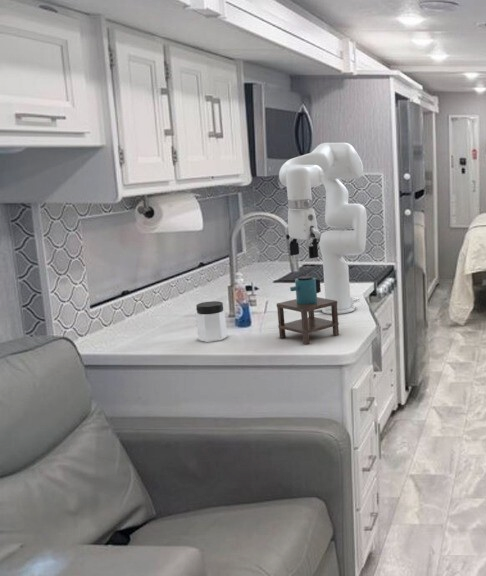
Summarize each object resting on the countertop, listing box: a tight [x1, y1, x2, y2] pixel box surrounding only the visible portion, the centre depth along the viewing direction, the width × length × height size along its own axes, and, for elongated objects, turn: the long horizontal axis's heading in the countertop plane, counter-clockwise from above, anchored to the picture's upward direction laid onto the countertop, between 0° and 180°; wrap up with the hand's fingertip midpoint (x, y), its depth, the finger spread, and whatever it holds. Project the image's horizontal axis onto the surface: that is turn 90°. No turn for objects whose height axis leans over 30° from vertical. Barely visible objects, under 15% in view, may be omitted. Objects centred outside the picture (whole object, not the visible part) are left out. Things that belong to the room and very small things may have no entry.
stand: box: [276, 296, 340, 345], centre depth 226 cm, size 14×14×12 cm
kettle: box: [289, 275, 322, 304], centre depth 223 cm, size 11×7×9 cm, turn 145°
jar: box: [195, 300, 228, 343], centre depth 224 cm, size 9×8×12 cm
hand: (304, 256), depth 222 cm, fingers open, 9 cm apart
